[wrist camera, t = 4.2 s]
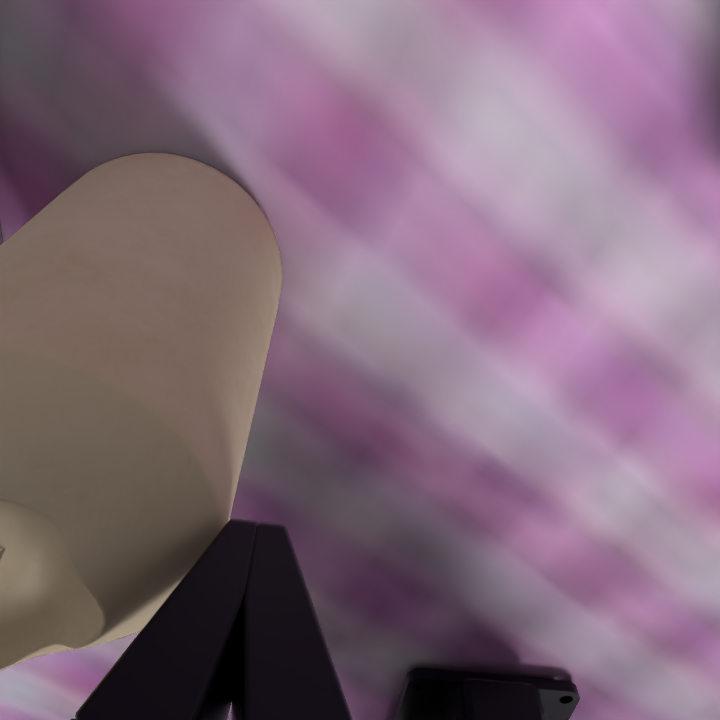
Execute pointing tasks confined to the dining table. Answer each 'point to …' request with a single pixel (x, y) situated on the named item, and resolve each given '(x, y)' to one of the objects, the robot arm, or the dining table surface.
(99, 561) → the candle
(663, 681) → the dining table surface
